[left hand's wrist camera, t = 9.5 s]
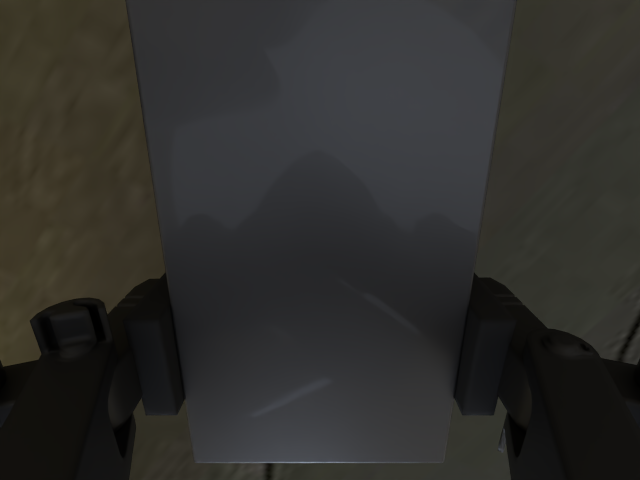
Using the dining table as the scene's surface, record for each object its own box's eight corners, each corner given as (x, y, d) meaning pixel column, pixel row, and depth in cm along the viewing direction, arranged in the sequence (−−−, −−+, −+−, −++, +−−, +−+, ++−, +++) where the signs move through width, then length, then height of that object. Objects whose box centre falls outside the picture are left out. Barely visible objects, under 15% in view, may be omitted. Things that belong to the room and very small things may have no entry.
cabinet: (235, -116, 14) (9, -757, 4) (405, -115, 14) (638, -747, 4) (258, 286, 20) (192, 464, 10) (379, 286, 20) (445, 464, 10)
